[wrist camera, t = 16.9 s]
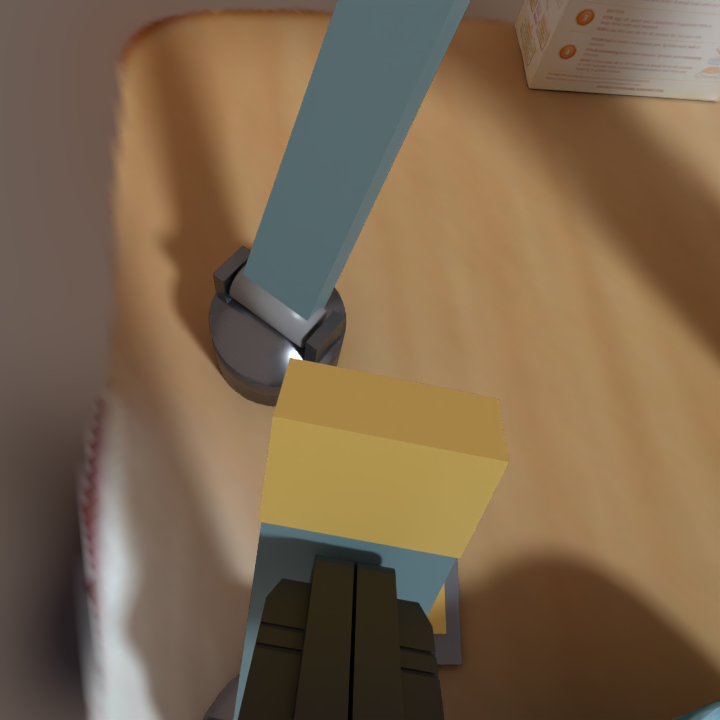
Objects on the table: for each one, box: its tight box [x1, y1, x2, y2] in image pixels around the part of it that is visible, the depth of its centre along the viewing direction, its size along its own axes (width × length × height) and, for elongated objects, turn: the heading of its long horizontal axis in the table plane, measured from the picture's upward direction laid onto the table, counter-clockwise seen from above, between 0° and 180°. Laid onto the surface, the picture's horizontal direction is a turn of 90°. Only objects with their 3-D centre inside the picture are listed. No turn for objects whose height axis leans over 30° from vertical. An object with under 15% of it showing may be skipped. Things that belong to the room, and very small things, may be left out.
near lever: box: [233, 358, 509, 720], centre depth 15 cm, size 2×4×18 cm, turn 81°
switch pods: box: [203, 246, 346, 720], centre depth 25 cm, size 24×6×6 cm, turn 3°
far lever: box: [230, 0, 470, 348], centre depth 22 cm, size 2×4×18 cm, turn 55°
